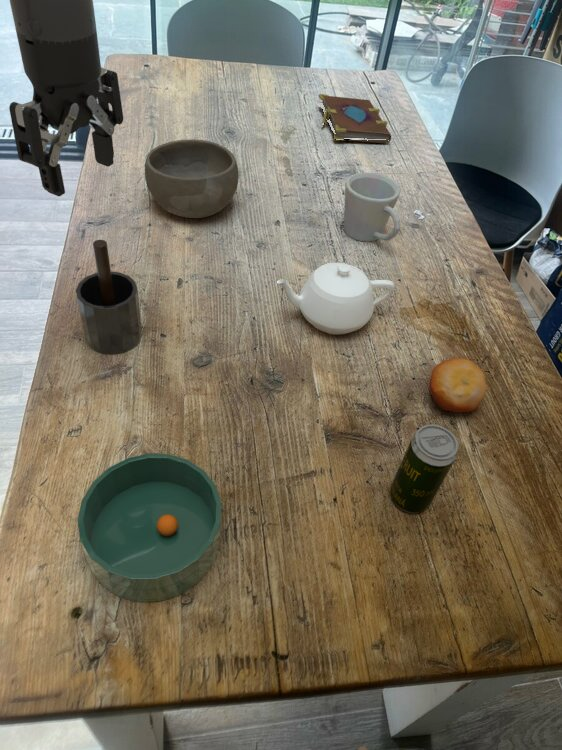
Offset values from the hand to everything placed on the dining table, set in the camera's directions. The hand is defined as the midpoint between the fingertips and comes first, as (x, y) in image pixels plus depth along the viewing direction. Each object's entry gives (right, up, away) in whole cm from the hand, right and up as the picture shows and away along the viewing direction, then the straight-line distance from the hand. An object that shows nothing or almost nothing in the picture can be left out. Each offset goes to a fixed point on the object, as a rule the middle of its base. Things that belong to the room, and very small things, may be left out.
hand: (81, 178), depth 68 cm
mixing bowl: (+9, -42, -1) cm, 43 cm away
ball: (+10, -40, -2) cm, 42 cm away
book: (+41, +42, +83) cm, 101 cm away
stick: (-2, -17, +21) cm, 26 cm away
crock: (-2, -17, +21) cm, 27 cm away
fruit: (+49, -27, +19) cm, 59 cm away
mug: (+41, +4, +47) cm, 62 cm away
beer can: (+40, -39, +7) cm, 56 cm away
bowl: (+6, +11, +49) cm, 50 cm away
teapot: (+32, -13, +29) cm, 45 cm away
